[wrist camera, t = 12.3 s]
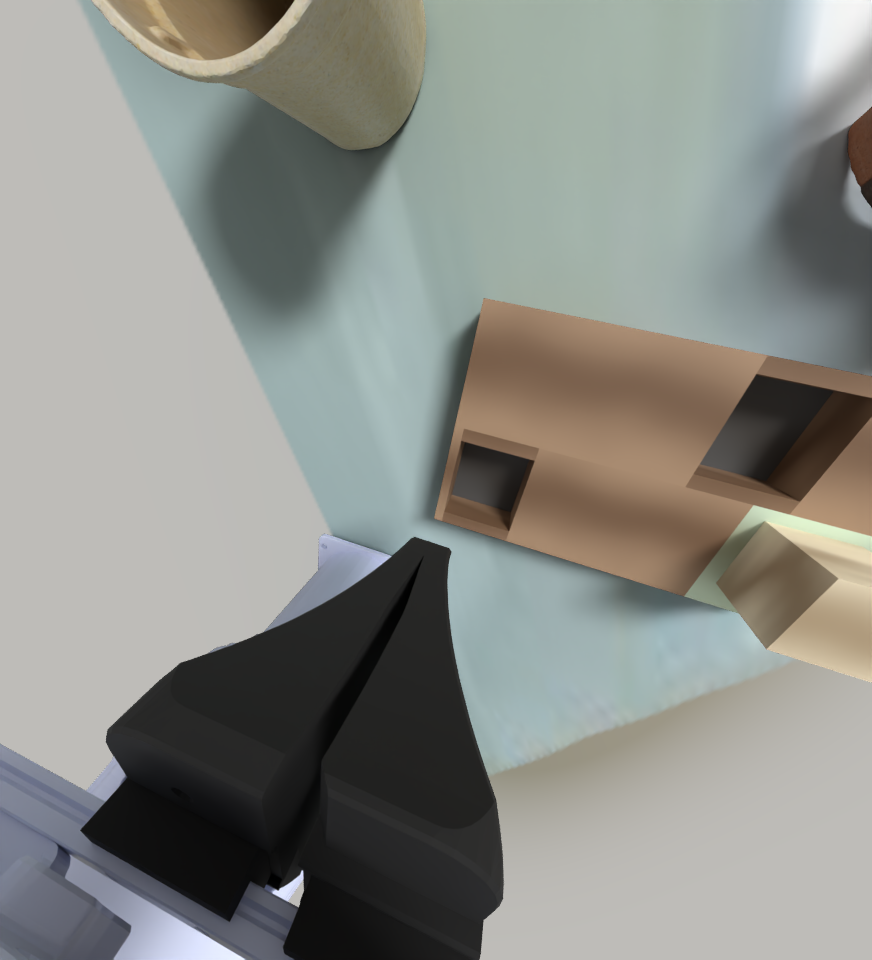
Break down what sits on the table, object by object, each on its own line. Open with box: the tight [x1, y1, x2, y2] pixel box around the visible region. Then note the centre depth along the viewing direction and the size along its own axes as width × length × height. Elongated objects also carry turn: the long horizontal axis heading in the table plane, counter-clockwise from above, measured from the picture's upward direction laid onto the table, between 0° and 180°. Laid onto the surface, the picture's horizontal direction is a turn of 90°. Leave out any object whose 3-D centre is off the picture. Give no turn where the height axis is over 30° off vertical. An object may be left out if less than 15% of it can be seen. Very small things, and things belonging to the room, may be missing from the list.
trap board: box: [434, 298, 872, 613], centre depth 16 cm, size 12×20×2 cm, turn 79°
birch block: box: [716, 521, 872, 683], centre depth 14 cm, size 4×4×4 cm
